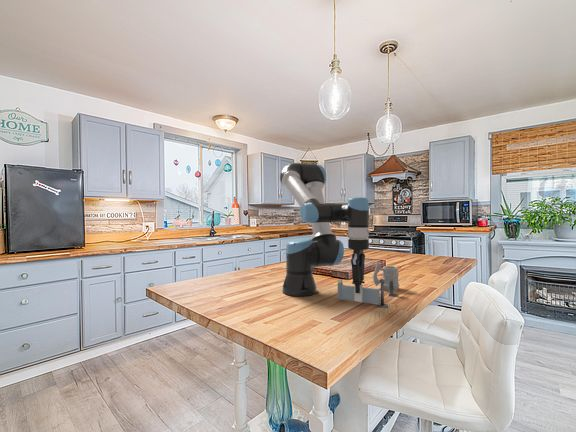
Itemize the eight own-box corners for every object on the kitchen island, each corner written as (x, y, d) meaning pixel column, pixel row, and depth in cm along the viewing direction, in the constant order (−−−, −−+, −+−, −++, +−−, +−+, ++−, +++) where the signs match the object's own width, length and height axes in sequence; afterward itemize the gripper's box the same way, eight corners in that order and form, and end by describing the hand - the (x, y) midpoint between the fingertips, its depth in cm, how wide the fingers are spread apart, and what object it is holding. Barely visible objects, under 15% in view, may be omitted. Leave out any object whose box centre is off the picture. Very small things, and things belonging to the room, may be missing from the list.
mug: (401, 290, 124) (401, 264, 124) (375, 290, 125) (375, 264, 125) (396, 286, 132) (396, 261, 132) (371, 286, 133) (370, 261, 133)
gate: (337, 298, 111) (337, 280, 111) (338, 297, 113) (338, 279, 113) (379, 304, 104) (379, 285, 104) (379, 303, 106) (379, 283, 106)
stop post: (388, 296, 117) (388, 281, 117) (389, 293, 120) (389, 279, 120) (396, 297, 115) (396, 282, 115) (397, 294, 119) (397, 280, 119)
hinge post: (375, 306, 104) (375, 279, 103) (377, 303, 107) (377, 277, 107) (387, 308, 102) (387, 280, 102) (388, 305, 105) (388, 278, 105)
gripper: (364, 240, 97) (364, 307, 97) (371, 237, 108) (371, 297, 109) (343, 239, 100) (343, 304, 101) (352, 236, 112) (352, 295, 112)
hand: (358, 300), depth 105 cm, fingers closed
